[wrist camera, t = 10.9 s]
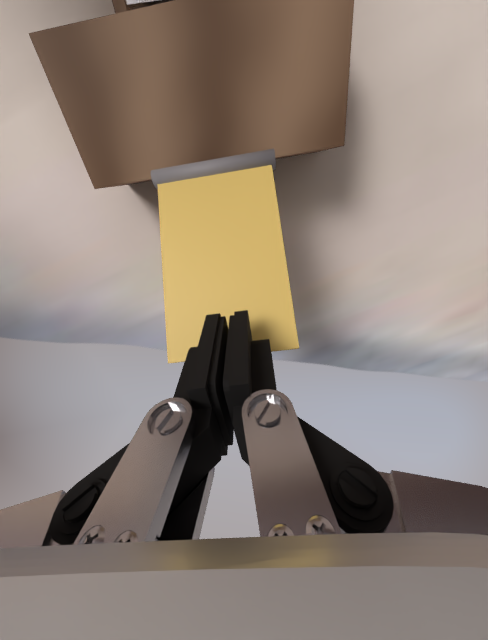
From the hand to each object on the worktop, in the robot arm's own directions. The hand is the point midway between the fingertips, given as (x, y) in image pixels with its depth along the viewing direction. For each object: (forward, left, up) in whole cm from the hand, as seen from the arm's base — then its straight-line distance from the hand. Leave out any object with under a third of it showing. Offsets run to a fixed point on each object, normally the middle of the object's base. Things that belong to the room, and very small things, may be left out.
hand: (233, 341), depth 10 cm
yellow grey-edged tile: (0, +3, -4) cm, 5 cm away
